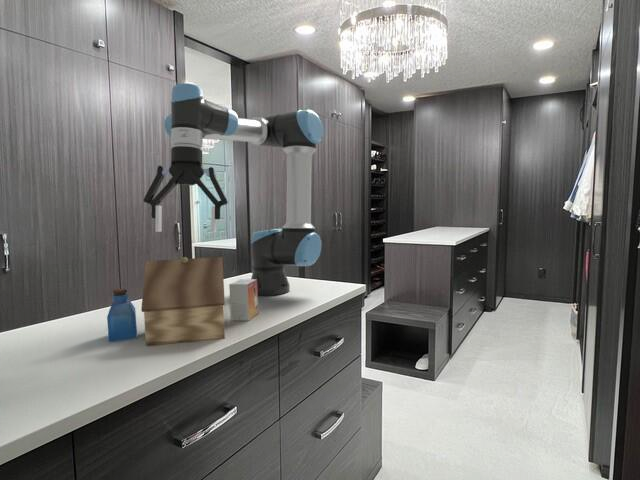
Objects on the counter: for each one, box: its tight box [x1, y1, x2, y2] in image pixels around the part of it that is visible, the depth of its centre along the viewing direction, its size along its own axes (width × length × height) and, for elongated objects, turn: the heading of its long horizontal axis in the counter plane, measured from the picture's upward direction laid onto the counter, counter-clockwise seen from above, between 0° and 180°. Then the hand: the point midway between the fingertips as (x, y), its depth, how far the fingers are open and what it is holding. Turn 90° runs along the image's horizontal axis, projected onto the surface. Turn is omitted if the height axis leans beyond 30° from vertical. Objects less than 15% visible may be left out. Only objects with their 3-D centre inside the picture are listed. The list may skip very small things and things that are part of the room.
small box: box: [228, 278, 259, 322], centre depth 120 cm, size 8×6×10 cm
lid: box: [141, 256, 226, 313], centre depth 102 cm, size 19×14×2 cm
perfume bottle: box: [106, 288, 138, 343], centre depth 105 cm, size 6×6×12 cm
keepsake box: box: [143, 305, 226, 347], centre depth 106 cm, size 18×14×8 cm
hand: (186, 232), depth 105 cm, fingers open, 13 cm apart
